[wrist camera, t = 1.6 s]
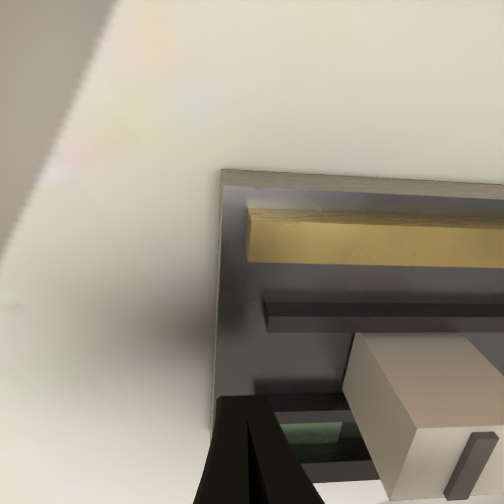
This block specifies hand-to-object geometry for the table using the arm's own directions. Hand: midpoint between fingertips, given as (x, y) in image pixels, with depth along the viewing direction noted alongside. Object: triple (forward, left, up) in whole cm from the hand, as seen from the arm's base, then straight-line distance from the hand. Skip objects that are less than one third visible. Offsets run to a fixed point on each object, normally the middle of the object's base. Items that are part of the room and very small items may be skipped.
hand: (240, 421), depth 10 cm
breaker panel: (-6, 0, -5) cm, 7 cm away
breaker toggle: (-6, 0, -3) cm, 6 cm away
